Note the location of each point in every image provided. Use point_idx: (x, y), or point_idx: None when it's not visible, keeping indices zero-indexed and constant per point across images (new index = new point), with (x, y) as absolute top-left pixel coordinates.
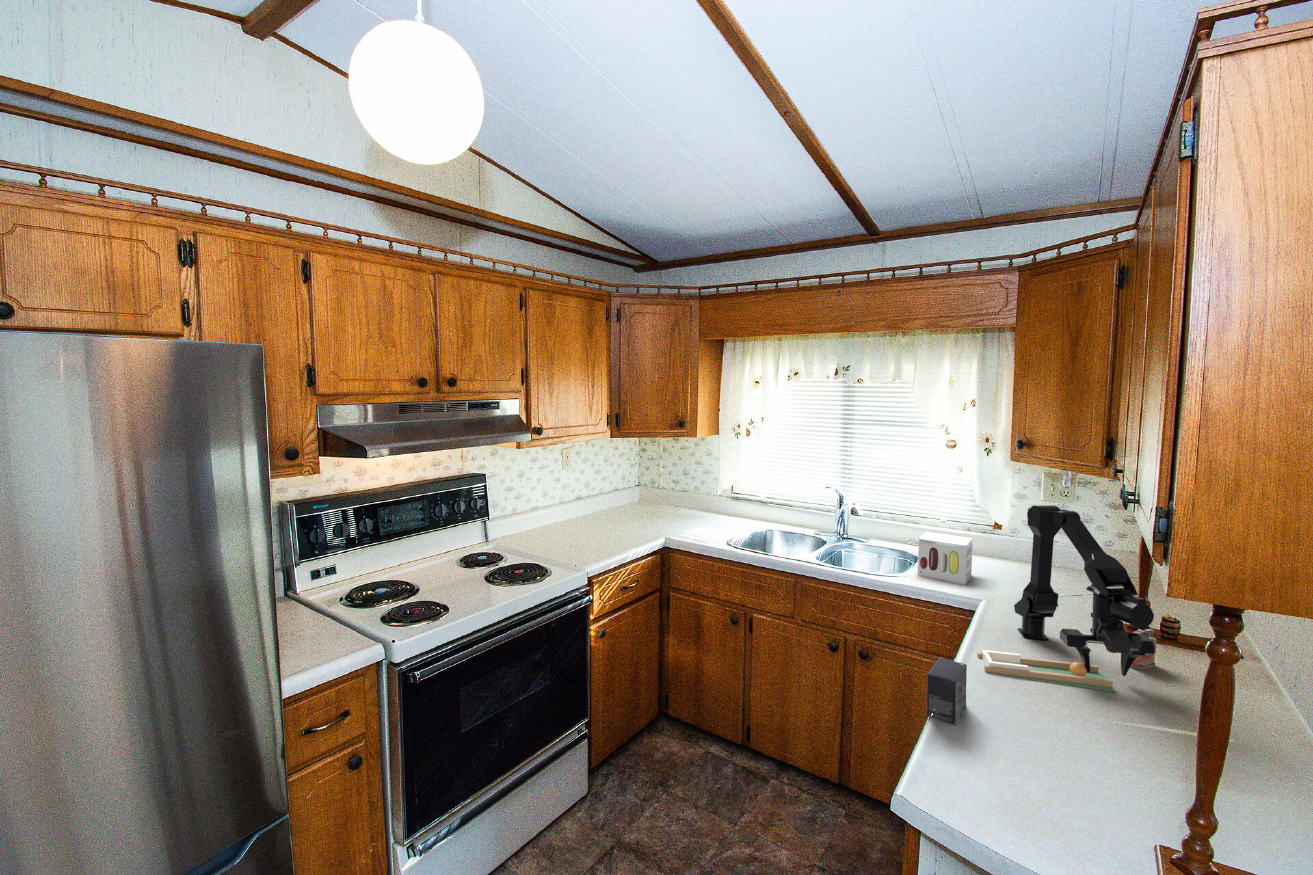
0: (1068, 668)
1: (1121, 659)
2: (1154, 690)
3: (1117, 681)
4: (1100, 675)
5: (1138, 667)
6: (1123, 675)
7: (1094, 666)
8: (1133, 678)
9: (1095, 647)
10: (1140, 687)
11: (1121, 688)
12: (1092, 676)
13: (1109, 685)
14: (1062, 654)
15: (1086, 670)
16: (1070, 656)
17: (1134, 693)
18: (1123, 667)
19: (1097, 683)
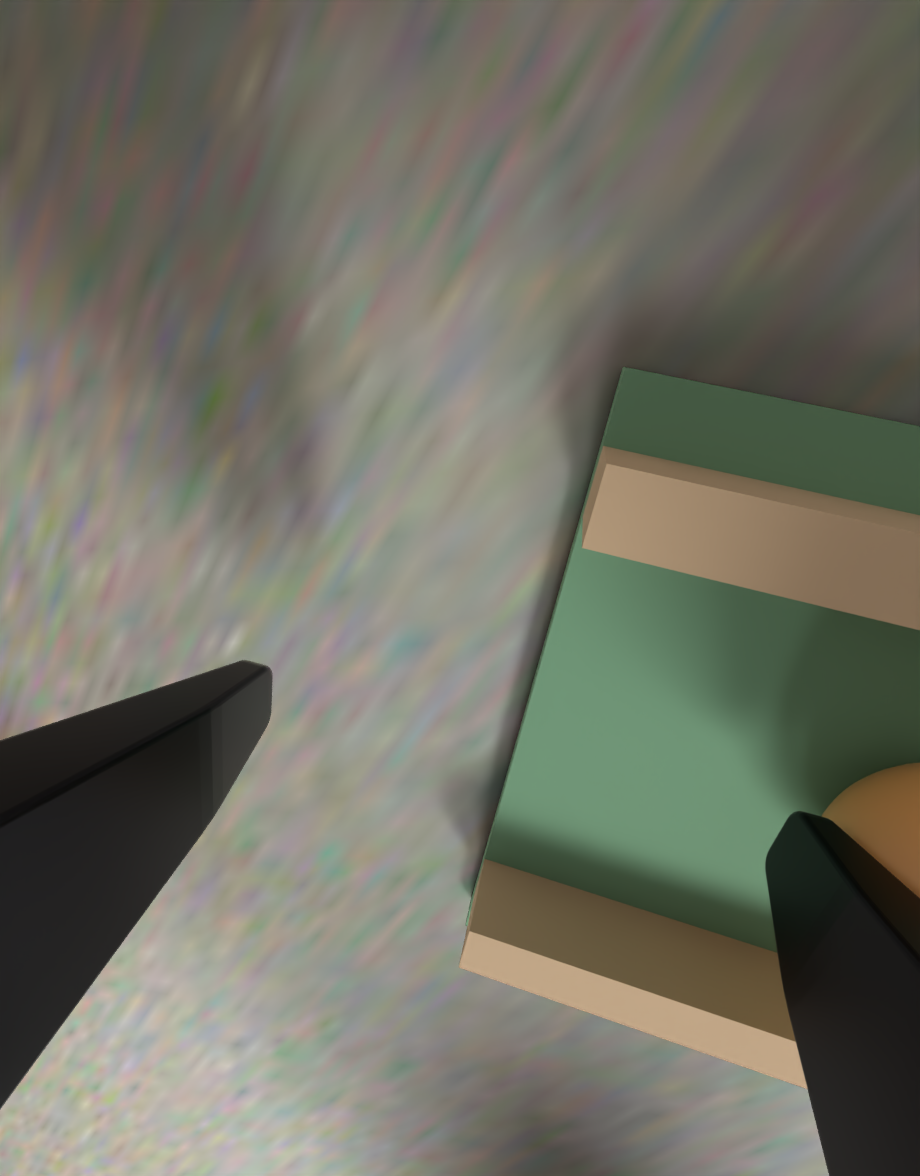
0: None
1: (70, 987)
2: (42, 466)
3: (357, 685)
4: (507, 799)
5: None
6: (268, 670)
7: (515, 952)
8: None
9: (210, 1161)
10: (165, 538)
11: (423, 496)
12: (647, 785)
13: (649, 461)
14: (557, 1172)
15: (895, 847)
16: (506, 1135)
17: (325, 340)
18: (173, 777)
19: (865, 508)
